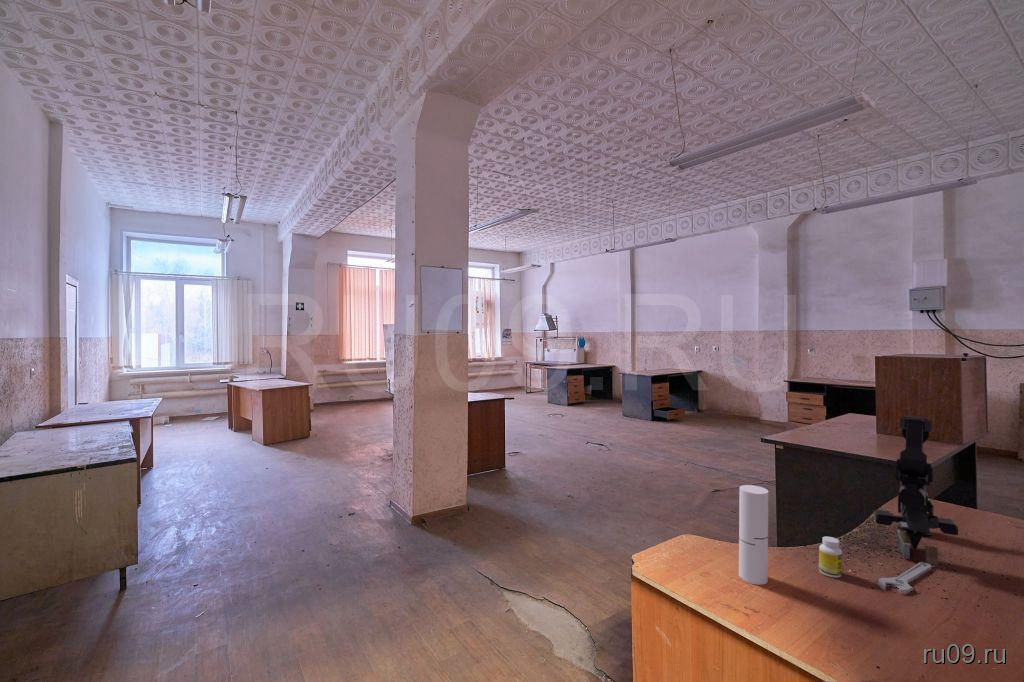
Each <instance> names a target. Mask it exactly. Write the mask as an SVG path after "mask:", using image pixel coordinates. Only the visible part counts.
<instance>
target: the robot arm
mask: <svg viewBox="0 0 1024 682" xmlns="http://www.w3.org/2000/svg"><path fill="white" fill-rule="evenodd" d="M898 429H899V430H901V435H902V436H903V438H904V439H905V449H903V450H901V451H900V453H899V458H896V467H895V469H896V470H895V481H899V482H900V484H899V485H900V488H899V493H898V496H897V497H898V498H897V513H898V514H899V513H900V514H901V515H895V514H891V512H890V511H889V510H883V509H874V510H873V518H874V521H875V523H876V524H878V525H882V526H891V525H893V523H897V524H898V525H897V526H896V527H897V529H900V530H905V531H906V532H907V534H908V536H909V539H910V541H911V543H912V546H913V550H914V551H916V550H917V548H918V546H919V544H920V542H921V540H922V539H923V537H924V536H925V535H926V536H925V537H931V536H932V533H931V529H933V530H935V529H936V530H937V529H939V530H940V531H941V532H942V533H943V534H946V535H953V536H958V535H959V528H958V525H957V524H956V523H955V521H953V520H952V519H950V518H944V517H938V516H937V515H934V507H935V506H934V504H933V503H932V501H931V500H929V493H928V492H927V491H926V486H931V485H930V484H931V483H933V478H934V477H933V476H934V475H933V474H934V473H933V472H934V471H933V469H934V468H933V466H932V464H931V463H929V462H928V455H927V454H926V453H925V452H924V449H923V448H924V444H925V443H926V442H927V440H928V439H929V437H930V433H933V421H932V420H928V417H920V416H912V415H911V416H909V415H904V417H903V418H901V417H899V419H898ZM928 535H930V536H928Z"/></svg>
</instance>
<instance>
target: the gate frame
mask: <svg viewBox="0 0 1024 682" xmlns="http://www.w3.org/2000/svg"><path fill="white" fill-rule="evenodd" d="M904 532H905V534H906V536H907V538H908V540H909V542H910V550H911V549H913V546H912V543H911V541H910V539H909V536H908V534H907V532H906V531H905V530H904ZM913 550H914V549H913ZM938 551H939V548H937V547H936V546H932V545H931V546H925V556H924V557H925V558H924V559H925V561H924V563H928V564H930V565H931V566H937V567H938Z"/></svg>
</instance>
